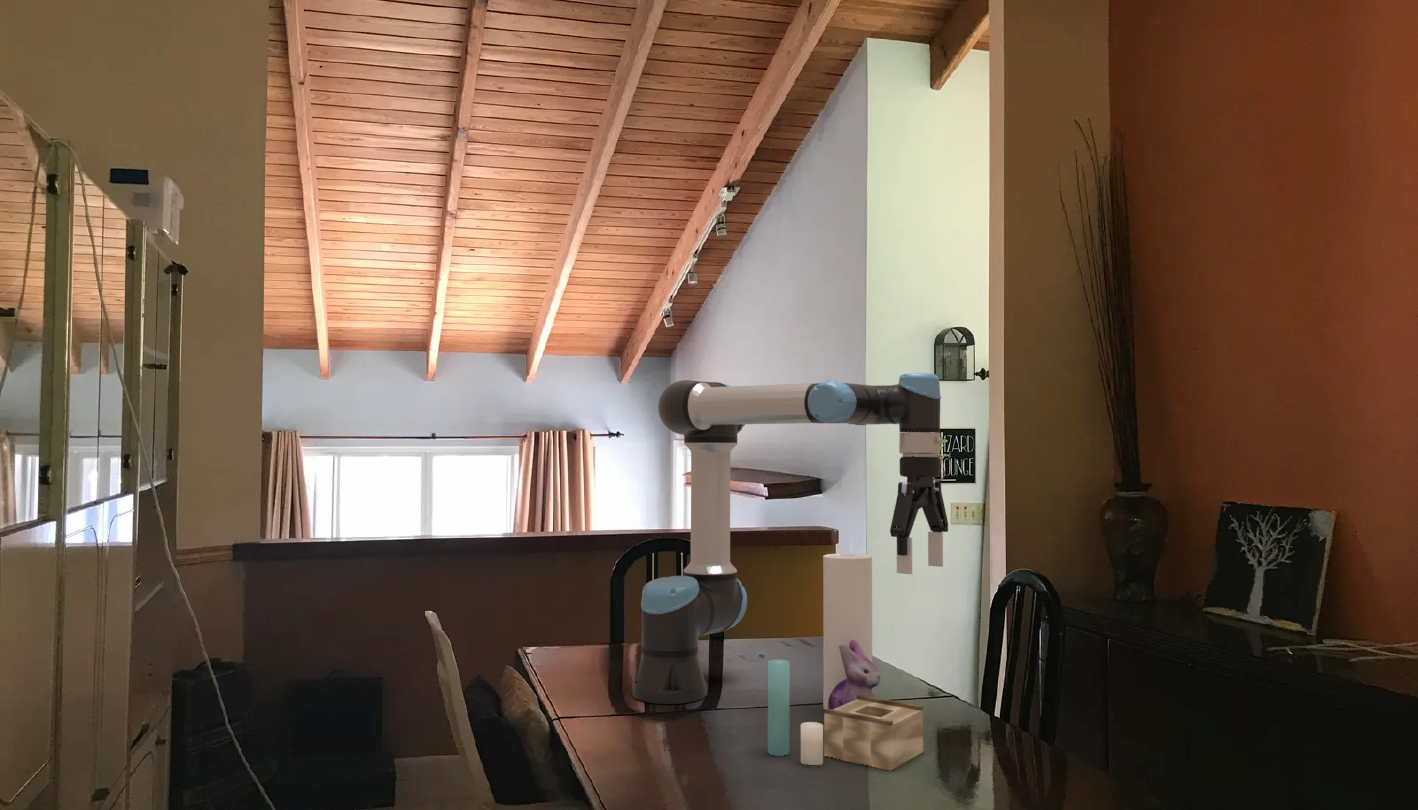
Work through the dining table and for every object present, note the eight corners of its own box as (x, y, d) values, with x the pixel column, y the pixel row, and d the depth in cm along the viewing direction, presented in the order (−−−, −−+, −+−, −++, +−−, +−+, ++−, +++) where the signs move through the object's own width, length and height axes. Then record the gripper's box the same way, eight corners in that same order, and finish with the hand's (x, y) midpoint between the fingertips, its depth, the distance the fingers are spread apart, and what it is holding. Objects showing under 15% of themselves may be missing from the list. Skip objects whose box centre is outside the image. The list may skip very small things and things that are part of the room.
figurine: (878, 733, 174) (878, 648, 175) (822, 727, 178) (822, 644, 179) (887, 719, 183) (887, 638, 184) (834, 714, 187) (833, 635, 187)
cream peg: (796, 763, 158) (796, 725, 158) (808, 757, 161) (808, 720, 161) (815, 767, 156) (815, 729, 156) (827, 761, 159) (827, 724, 159)
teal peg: (763, 753, 163) (763, 662, 164) (775, 747, 166) (775, 658, 167) (781, 757, 161) (782, 665, 161) (793, 752, 164) (793, 661, 164)
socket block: (824, 756, 162) (824, 709, 162) (859, 738, 171) (859, 694, 172) (890, 770, 154) (890, 722, 155) (923, 751, 164) (922, 705, 164)
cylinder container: (871, 716, 185) (870, 556, 186) (821, 713, 187) (821, 555, 188) (873, 704, 194) (872, 551, 195) (825, 701, 196) (825, 550, 197)
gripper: (909, 456, 171) (909, 578, 171) (965, 455, 191) (965, 564, 191) (870, 455, 176) (871, 575, 175) (929, 455, 196) (929, 561, 195)
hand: (920, 569), depth 183 cm, fingers open, 13 cm apart
